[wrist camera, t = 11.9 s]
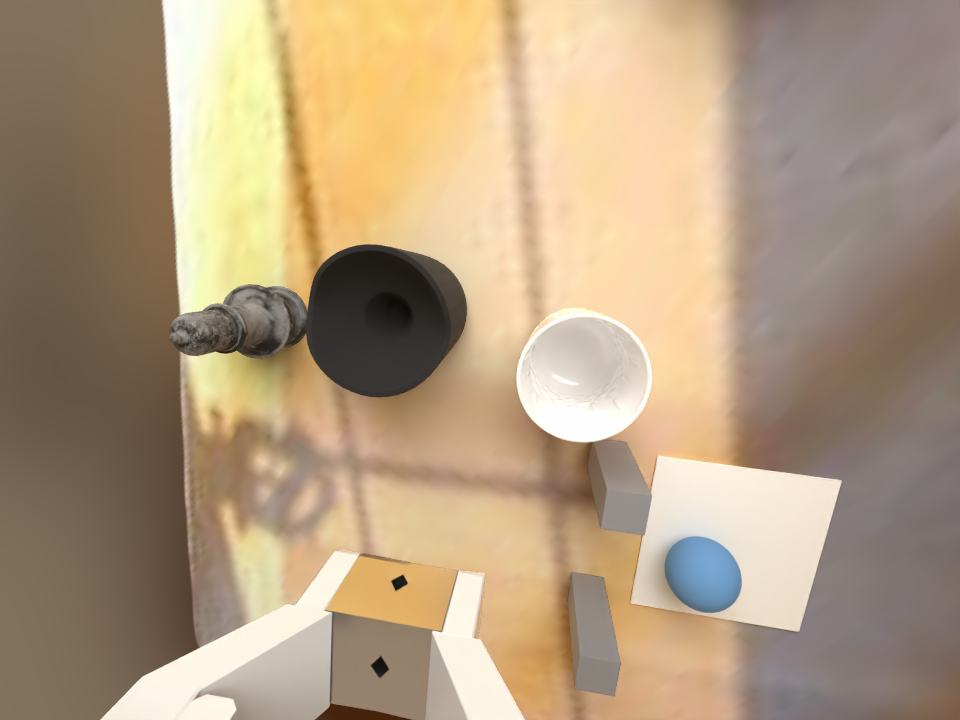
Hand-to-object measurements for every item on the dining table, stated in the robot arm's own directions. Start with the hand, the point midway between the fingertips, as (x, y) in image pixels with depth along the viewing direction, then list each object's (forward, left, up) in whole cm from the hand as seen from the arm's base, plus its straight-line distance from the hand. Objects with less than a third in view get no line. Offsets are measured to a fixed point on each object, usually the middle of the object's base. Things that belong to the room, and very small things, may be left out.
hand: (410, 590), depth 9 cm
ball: (-17, +16, -26) cm, 35 cm away
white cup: (-5, 0, -29) cm, 30 cm away
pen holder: (+8, -2, -29) cm, 31 cm away
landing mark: (-20, +15, -29) cm, 38 cm away
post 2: (-9, +21, -29) cm, 37 cm away
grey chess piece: (+20, 0, -29) cm, 36 cm away
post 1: (-9, +9, -29) cm, 32 cm away
